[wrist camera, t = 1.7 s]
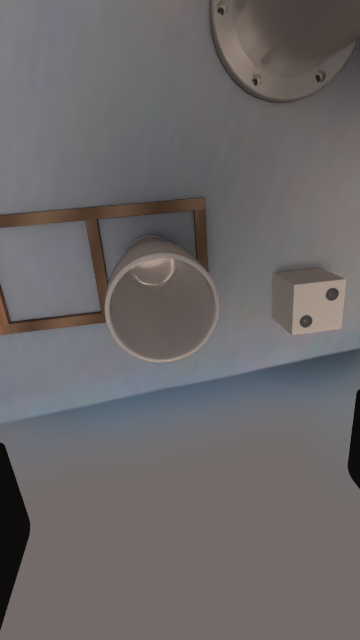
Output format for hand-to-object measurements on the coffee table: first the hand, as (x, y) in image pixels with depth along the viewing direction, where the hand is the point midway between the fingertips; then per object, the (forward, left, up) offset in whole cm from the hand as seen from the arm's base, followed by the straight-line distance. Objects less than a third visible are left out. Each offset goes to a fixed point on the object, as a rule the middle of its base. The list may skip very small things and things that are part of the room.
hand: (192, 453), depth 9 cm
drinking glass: (0, 0, -26) cm, 26 cm away
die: (-15, +5, -26) cm, 31 cm away
